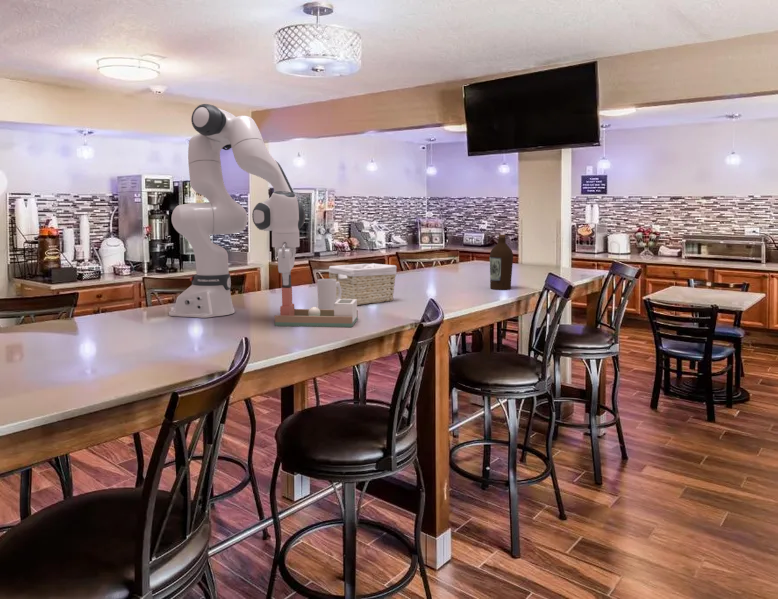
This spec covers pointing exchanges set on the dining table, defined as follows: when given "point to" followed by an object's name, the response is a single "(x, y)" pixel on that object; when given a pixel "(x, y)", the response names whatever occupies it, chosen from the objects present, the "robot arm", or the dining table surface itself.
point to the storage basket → (365, 282)
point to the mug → (327, 293)
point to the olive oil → (501, 265)
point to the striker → (287, 300)
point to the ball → (314, 311)
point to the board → (323, 316)
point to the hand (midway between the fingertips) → (286, 283)
